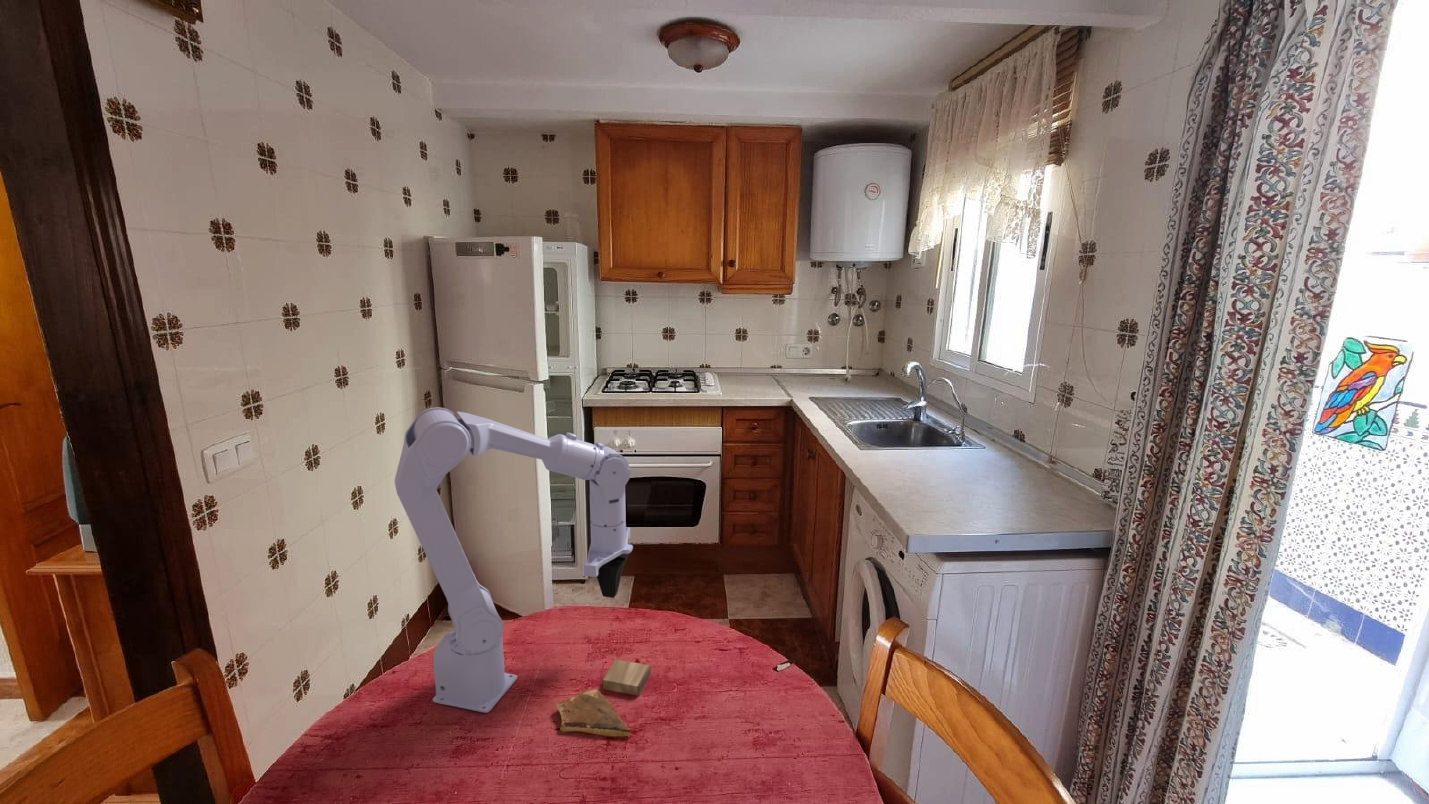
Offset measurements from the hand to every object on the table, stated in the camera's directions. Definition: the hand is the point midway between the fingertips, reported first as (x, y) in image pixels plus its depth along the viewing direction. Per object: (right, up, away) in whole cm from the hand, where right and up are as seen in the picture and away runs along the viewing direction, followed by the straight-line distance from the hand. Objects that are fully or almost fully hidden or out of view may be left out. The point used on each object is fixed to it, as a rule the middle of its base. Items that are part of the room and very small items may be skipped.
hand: (609, 595), depth 96 cm
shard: (+1, -14, -13) cm, 19 cm away
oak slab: (+1, -11, -6) cm, 12 cm away
